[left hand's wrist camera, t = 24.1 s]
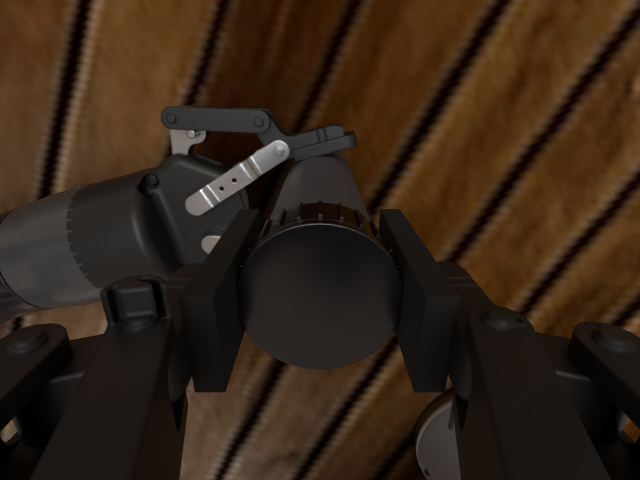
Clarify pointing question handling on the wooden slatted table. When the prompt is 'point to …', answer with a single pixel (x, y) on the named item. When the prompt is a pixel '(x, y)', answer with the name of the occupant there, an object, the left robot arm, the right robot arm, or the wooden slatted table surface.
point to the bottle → (320, 184)
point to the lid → (319, 286)
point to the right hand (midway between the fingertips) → (362, 178)
